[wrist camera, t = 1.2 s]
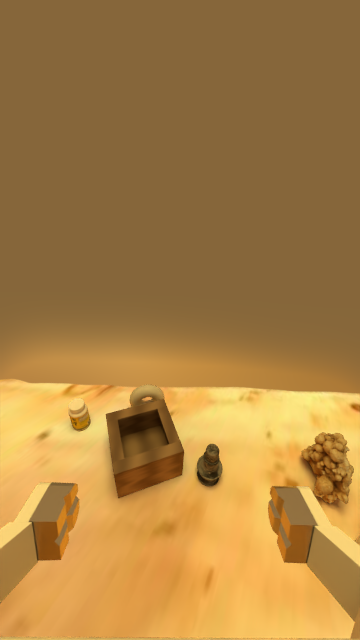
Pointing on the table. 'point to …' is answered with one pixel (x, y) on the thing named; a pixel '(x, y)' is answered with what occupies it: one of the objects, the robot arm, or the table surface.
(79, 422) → the supplement bottle
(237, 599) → the table surface
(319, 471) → the mineral formation
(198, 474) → the salt shaker
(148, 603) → the table surface
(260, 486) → the table surface
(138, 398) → the donut
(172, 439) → the box
